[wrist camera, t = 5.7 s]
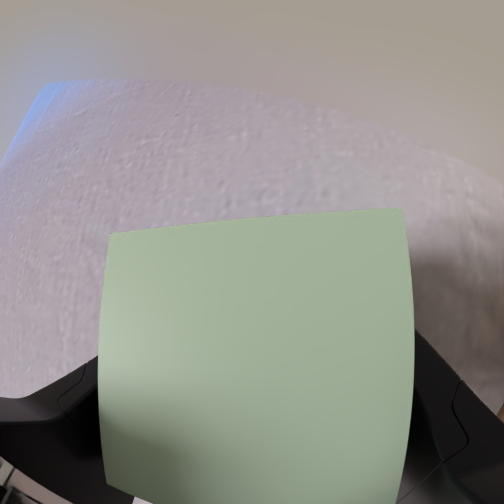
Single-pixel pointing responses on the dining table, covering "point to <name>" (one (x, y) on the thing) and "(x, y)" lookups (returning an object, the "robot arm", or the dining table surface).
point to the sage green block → (258, 360)
